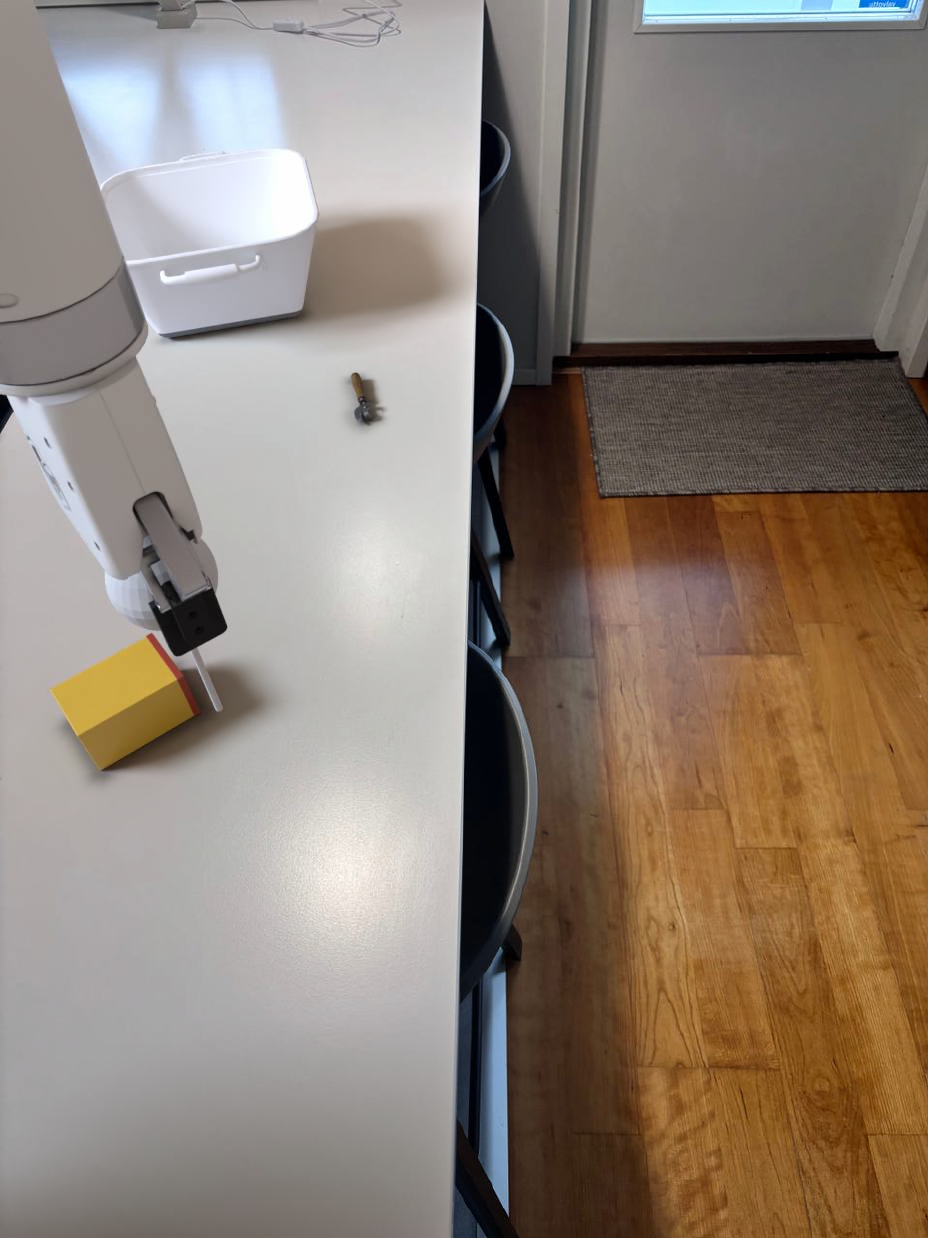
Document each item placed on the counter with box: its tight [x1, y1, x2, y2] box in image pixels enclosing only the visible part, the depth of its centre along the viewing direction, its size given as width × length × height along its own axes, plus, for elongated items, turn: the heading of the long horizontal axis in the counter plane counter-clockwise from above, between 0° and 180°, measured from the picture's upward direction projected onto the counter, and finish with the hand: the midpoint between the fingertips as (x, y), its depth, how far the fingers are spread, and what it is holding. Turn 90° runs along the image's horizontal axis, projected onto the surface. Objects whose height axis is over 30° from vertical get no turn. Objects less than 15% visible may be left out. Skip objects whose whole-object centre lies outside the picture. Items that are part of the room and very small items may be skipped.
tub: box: [99, 147, 320, 339], centre depth 121 cm, size 34×27×13 cm
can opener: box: [350, 371, 375, 424], centre depth 108 cm, size 9×2×1 cm, turn 7°
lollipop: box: [104, 537, 224, 713], centre depth 55 cm, size 6×6×15 cm
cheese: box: [49, 632, 201, 771], centre depth 78 cm, size 9×6×5 cm
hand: (172, 602), depth 53 cm, fingers closed on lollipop, 6 cm apart
